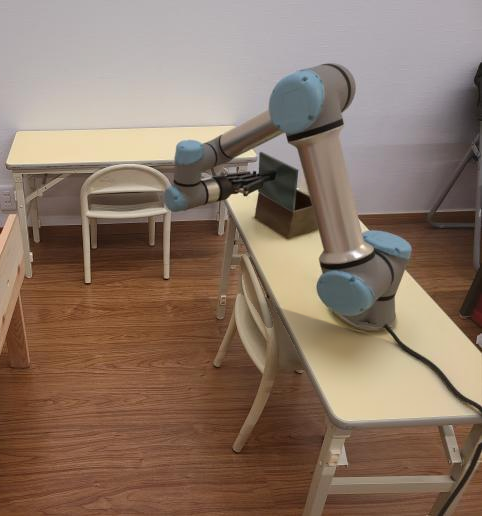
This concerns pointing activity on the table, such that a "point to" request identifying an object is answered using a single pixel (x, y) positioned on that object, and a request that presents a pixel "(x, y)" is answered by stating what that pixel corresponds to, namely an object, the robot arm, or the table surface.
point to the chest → (287, 215)
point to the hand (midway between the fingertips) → (273, 174)
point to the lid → (279, 181)
